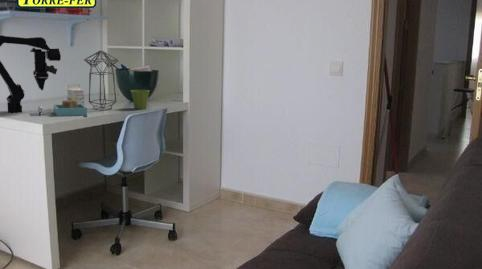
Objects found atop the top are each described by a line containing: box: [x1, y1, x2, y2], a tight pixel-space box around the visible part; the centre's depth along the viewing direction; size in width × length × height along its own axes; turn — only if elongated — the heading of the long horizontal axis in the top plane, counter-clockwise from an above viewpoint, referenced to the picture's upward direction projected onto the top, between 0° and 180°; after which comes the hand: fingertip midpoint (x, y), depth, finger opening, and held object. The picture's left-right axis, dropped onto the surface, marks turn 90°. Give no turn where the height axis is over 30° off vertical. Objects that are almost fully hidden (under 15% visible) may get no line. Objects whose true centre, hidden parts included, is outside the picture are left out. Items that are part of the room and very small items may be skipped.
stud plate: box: [29, 105, 52, 117], centre depth 253 cm, size 10×10×5 cm
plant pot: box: [130, 89, 150, 110], centre depth 296 cm, size 12×12×11 cm
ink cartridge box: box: [67, 83, 85, 106], centre depth 284 cm, size 9×5×15 cm, turn 141°
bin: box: [53, 104, 88, 118], centre depth 260 cm, size 15×15×5 cm
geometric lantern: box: [83, 50, 119, 111], centre depth 284 cm, size 16×16×35 cm
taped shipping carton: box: [61, 99, 77, 108], centre depth 259 cm, size 5×5×7 cm
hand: (41, 89), depth 263 cm, fingers open, 9 cm apart
